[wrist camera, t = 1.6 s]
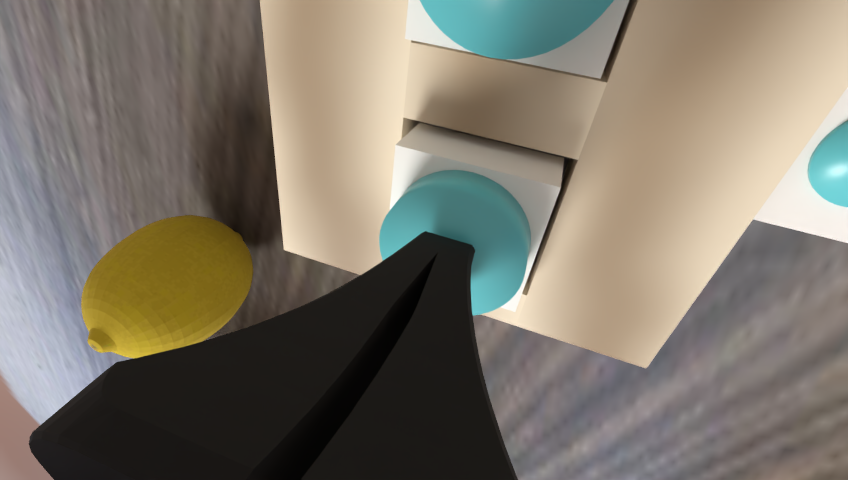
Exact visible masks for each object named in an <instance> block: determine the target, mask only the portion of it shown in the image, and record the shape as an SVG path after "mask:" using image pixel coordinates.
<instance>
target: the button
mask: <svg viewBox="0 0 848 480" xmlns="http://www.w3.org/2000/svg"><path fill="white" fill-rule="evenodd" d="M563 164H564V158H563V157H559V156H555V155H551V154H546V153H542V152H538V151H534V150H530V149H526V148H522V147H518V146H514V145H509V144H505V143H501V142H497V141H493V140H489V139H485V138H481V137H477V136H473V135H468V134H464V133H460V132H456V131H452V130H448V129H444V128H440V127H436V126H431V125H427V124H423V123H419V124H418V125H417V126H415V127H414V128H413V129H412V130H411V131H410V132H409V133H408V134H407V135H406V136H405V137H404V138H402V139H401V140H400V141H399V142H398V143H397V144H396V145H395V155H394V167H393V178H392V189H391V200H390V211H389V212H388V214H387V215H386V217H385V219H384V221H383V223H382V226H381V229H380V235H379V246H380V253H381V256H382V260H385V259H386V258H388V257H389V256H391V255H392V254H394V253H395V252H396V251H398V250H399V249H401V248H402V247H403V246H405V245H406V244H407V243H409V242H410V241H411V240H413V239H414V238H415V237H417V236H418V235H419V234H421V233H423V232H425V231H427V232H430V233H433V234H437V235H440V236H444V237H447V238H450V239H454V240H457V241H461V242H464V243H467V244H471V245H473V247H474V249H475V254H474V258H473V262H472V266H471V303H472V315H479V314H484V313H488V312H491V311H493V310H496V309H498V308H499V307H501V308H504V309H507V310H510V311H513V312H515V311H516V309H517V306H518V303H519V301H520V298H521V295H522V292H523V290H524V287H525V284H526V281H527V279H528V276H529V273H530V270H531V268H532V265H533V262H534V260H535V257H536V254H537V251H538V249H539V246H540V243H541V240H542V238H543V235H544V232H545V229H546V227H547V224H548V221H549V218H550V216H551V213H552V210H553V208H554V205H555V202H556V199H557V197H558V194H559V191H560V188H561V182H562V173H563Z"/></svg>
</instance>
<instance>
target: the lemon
mask: <svg viewBox="0 0 848 480" xmlns="http://www.w3.org/2000/svg"><path fill="white" fill-rule="evenodd" d="M252 276H253V265H252V259H251V255H250V252H249V250H248V248H247V246H246V245H245V243H244V241H243V239H242V236H241V235H240V234H239V233H237V232H234V231H233V230H232V229H231V228H230V227H228V226H226V225H225V224H223V223H221V222H219V221H216V220H214V219H211V218H207V217H200V216H193V215H185V216H178V217H171V218H166V219H163V220H159V221H156V222H154V223H151V224H149V225H147V226H145V227H143V228H141V229H139V230H137V231H136V232H134V233H133V234H131V235H130V236H128V237H127V238H125V239H124V240H122V241H121V242H119V243H118V244H117V245H116V246H114V247H113V248H112V249H111V250H110V251H109V252H108V253H107V254H106V255H105V256H104V257H103V258H102V259H101V260H100V261H99V262H98V263H97V264H96V266H95V267H94V268H93V270H92V271H91V273H90V275H89V277H88V279H87V281H86V283H85V286H84V288H83V293H82V303H81V306H82V314H83V319H84V322H85V324H86V326H87V329H88V331H89V337H88V343H89V345H90V346H91V347H92V348H93V349H94V350H96V351H98V352H100V353H103V352H114V353H116V354H119V355H122V356H125V357H130V358H139V357H143V356H147V355H151V354H155V353H160V352H164V351H168V350H172V349H176V348H180V347H184V346H188V345H192V344H195V343H199V342H202V341H204V340H205V339H207V338H208V337H210V336H211V335H213V334H214V333H215V332H217V331H218V330H219V329H221V328H222V327H223V326H224V325H225V324H226V323H227V322H228V321H229V320H230V319H231V318H232V317H233V316H234V314H235V313H236V312H237V311H238V309H239V308H240V306H241V305H242V303H243V301H244V300H245V298H246V296H247V295H248V292H249V290H250V287H251V282H252Z"/></svg>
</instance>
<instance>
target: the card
mask: <svg viewBox="0 0 848 480" xmlns="http://www.w3.org/2000/svg"><path fill="white" fill-rule="evenodd" d="M754 220H758V221H762V222H766V223H770V224H774V225H778V226H782V227H786V228H790V229H794V230H798V231H802V232H806V233H810V234H814V235H818V236H822V237H826V238H830V239H834V240H838V241H842V242H846V243H848V87H847V89H846V90H845V91H844V93H843V94H842V96H841V97H840V98H839V100H838V101H837V103H836V104H835V105H834V107H833V108H832V110H831V111H830V112H829V114H828V115H827V117H826V118H825V119H824V121H823V122H822V124H821V125H820V126H819V128H818V129H817V131H816V132H815V133H814V135H813V136H812V138H811V139H810V140H809V142H808V143H807V145H806V146H805V147H804V149H803V150H802V152H801V153H800V154H799V156H798V157H797V158H796V160H795V161H794V163H793V164H792V165H791V167H790V168H789V170H788V171H787V172H786V174H785V175H784V177H783V178H782V179H781V181H780V182H779V184H778V185H777V186H776V188H775V189H774V191H773V192H772V193H771V195H770V196H769V198H768V199H767V200H766V202H765V203H764V205H763V206H762V207H761V209H760V210H759V212H758V213H757V214H756V216H755V217H754Z"/></svg>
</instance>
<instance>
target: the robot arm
mask: <svg viewBox="0 0 848 480" xmlns="http://www.w3.org/2000/svg"><path fill="white" fill-rule="evenodd" d="M474 254H475V249H474V247H473V245H471V244H467V243H464V242H461V241H457V240H454V239H450V238H447V237H444V236H440V235H437V234H433V233H430V232H427V231H425V232H423V233H421V234H419V235H418V236H417V237H415V238H414V239H413V240H411V241H410V242H409V243H407V244H406V245H405V246H403V247H402V248H401V249H399V250H398V251H396V252H395V253H394V254H392V255H391V256H389V257H388V258H386V259H385V260H383V261H382V262H380V263H379V264H377V265H376V266H374V267H373V268H371V269H370V270H368V271H367V272H365V273H363V274H362V275H360V276H358V277H356V278H355V279H353V280H351V281H350V282H348V283H346V284H344V285H343V286H341V287H339V288H337V289H336V290H334V291H332V292H330V293H328V294H326V295H324V296H322V297H320V298H318V299H316V300H314V301H312V302H310V303H308V304H305V305H303V306H301V307H299V308H297V309H294V310H292V311H289V312H287V313H284V314H282V315H279V316H277V317H274V318H272V319H269V320H266V321H264V322H261V323H259V324H256V325H253V326H250V327H248V328H245V329H241V330H238V331H235V332H232V333H229V334H226V335H223V336H219V337H216V338H213V339H209V340H206V341H203V342H199V343H195V344H192V345H188V346H184V347H180V348H176V349H172V350H168V351H164V352H160V353H155V354H151V355H147V356H143V357H139V358H134V359H130V360H125V361H121V362H116V363H115V364H114V365H113V366H111V367H110V368H109V369H107V370H106V371H105V372H104V373H102V374H101V375H100V376H99V377H98V378H96V379H95V380H94V381H93V382H92V383H90V384H89V385H88V386H87V387H86V388H84V389H83V390H82V391H81V392H80V393H78V394H77V395H76V396H75V397H74V398H73V399H71V400H70V401H69V402H68V403H67V404H65V405H64V406H63V407H62V408H61V409H59V410H58V411H57V412H56V413H55V414H53V415H52V416H51V417H50V418H49V419H48V420H46V421H45V422H44V423H43V424H42V425H40V426H39V427H38V428H37V429H36V430H35V431H34V432H33V433H32V434H31V436H30V441H29V445H30V449H31V452H32V453H33V455H34V456H35V458H36V459H37V460H38V461H39V463H40V464H41V465H42V466H43V467H44V469H45V470H46V471H47V472H48V473H49V474H50V475H51V477H52V478H53V479H54V480H518V479H517V476H516V474H515V471H514V469H513V466H512V463H511V461H510V458H509V455H508V453H507V450H506V447H505V445H504V442H503V439H502V436H501V433H500V430H499V426H498V423H497V420H496V417H495V414H494V411H493V408H492V405H491V402H490V399H489V395H488V391H487V388H486V384H485V380H484V376H483V372H482V368H481V363H480V359H479V354H478V349H477V343H476V337H475V330H474V323H473V315H472V303H471V266H472V262H473V258H474Z"/></svg>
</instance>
